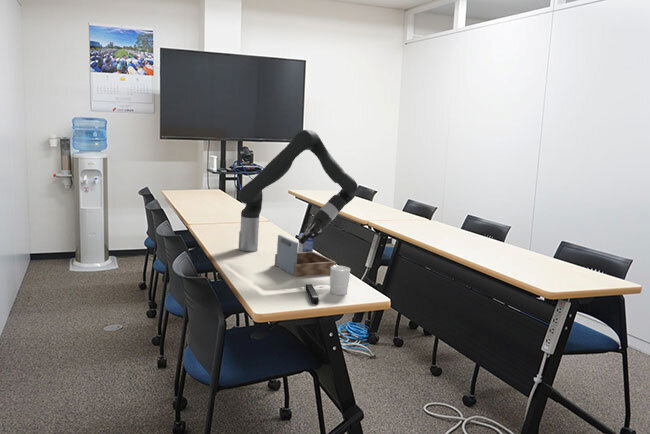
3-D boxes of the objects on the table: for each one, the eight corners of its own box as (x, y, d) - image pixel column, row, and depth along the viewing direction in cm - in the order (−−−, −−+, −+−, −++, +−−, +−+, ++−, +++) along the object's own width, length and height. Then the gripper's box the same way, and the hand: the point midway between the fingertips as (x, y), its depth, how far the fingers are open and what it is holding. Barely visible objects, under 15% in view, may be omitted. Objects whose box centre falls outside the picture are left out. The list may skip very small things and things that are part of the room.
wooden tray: (312, 265, 247) (313, 251, 246) (335, 276, 230) (336, 262, 229) (274, 268, 237) (275, 254, 236) (295, 280, 220) (295, 265, 219)
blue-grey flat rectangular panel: (278, 265, 236) (280, 234, 234) (296, 275, 222) (298, 243, 220) (274, 265, 235) (276, 235, 233) (291, 275, 221) (293, 243, 219)
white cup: (347, 290, 211) (349, 266, 210) (349, 296, 204) (351, 271, 202) (328, 289, 211) (330, 265, 210) (328, 295, 203) (330, 270, 202)
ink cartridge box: (312, 261, 254) (314, 232, 251) (301, 261, 252) (303, 232, 250) (307, 256, 263) (309, 228, 261) (297, 256, 261) (299, 228, 259)
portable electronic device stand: (304, 290, 208) (305, 283, 208) (311, 290, 209) (311, 283, 208) (311, 305, 191) (312, 297, 190) (318, 305, 191) (319, 297, 191)
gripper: (314, 206, 238) (288, 234, 234) (329, 211, 227) (302, 240, 223) (323, 217, 242) (298, 245, 237) (338, 223, 231) (312, 251, 226)
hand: (300, 242), depth 230 cm, fingers closed
